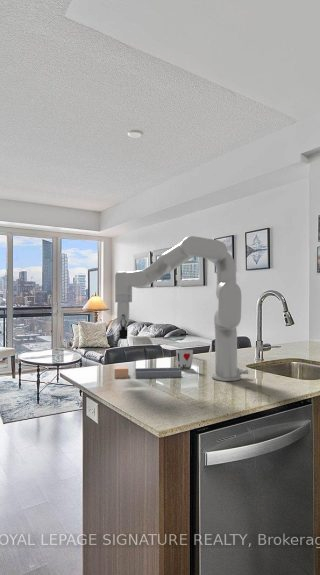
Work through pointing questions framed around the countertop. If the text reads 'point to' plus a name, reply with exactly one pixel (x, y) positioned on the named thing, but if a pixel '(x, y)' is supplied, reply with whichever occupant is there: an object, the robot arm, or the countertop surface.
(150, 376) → the grey railed tray
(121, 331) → the robot arm
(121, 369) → the block
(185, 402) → the countertop surface
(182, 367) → the cup
